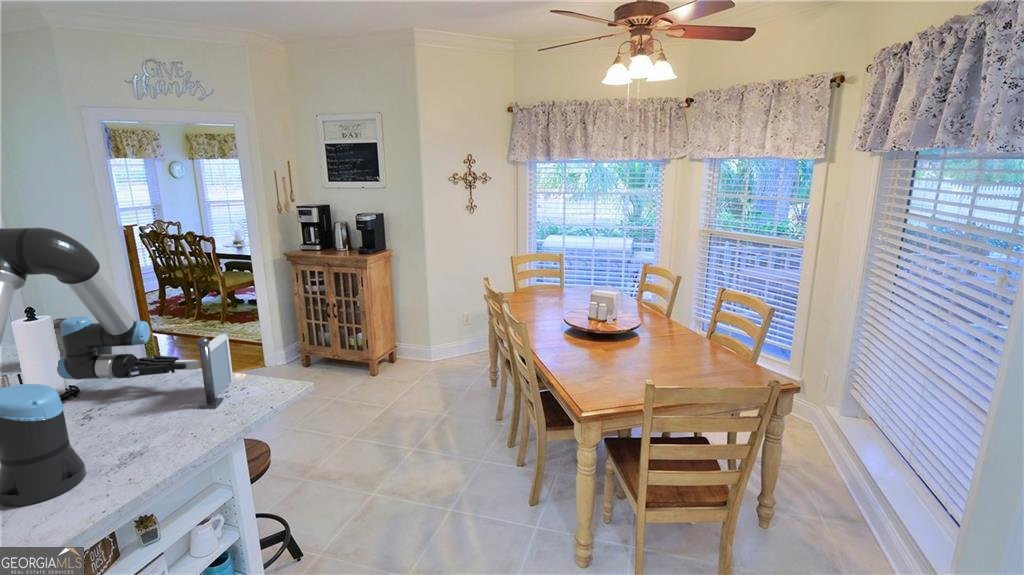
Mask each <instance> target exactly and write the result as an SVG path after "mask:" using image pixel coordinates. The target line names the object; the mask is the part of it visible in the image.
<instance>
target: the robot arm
mask: <svg viewBox="0 0 1024 575" xmlns="http://www.w3.org/2000/svg"><path fill="white" fill-rule="evenodd" d="M100 269H101V264H100V262H99V261H98V259H97V258H96V255H94V254H93V253H92V251H90V249H89V248H87V247H86V246H84V245H83V244H82V243H81V242H79V241H78V240H76V239H75V238H74V237H71V236H70V235H68V234H65V233H64V232H61V231H59V230H55V229H53V228H52V229H51V228H48V227H47V228H46V227H14V228H13V227H9V228H8V227H6V228H2V227H1V228H0V346H1V345H2V341H3V337H4V334H5V329H6V326H7V321H8V318H9V314H10V309H11V306H12V304H13V303H12V302H13V299H14V294H15V291H17V290H19V289H22V288H23V287H24V286H25V285H26V281H27V278H28V276H31V275H50V276H52V277H53V276H54V277H55V279H56V280H58V282H60V283H61V284H65V285H68V287H69V288H70V289H71V291H73V292H74V294H75V295H76V297H78V298H79V301H81V302H82V304H83V305H84V306H85V308H86V309H87V310H88V311H89V313H91V315H92V316H93V317H94V319H95V320H96V321H97V322H94V323H93V321H92V318H91V317H89V316H84V315H80V316H72V317H69V318H68V317H67V318H68V319H65V320H63V321H62V322H61V323H60V328H61V337H62V340H63V345H64V349H65V354H66V355H65V356H63V357H62V358H61V359H60V360H59V361H58V367H57V370H56V372H57V374H58V375H59V377H61V378H63V379H66V380H77V381H80V380H89V379H91V380H92V379H93V380H94V379H95V380H96V379H98V380H99V379H100V380H101V379H102V380H103V379H107V380H112V379H131V378H137V377H141V376H142V377H143V376H153V375H161V374H163V375H164V374H169V373H170V372H171V373H172V374H175V372H176V370H177V371H180V370H181V371H182V370H183V371H184V370H185V371H187V370H198V369H200V368H201V367H200V360H199V359H180V358H179V357H178V356H167V355H158V354H152V355H150V356H151V357H148V358H147V357H140V358H138V357H137V356H136V355H135V354H134V353H133V354H132V353H112V354H97V348H99V347H112V348H115V347H130V346H131V347H133V346H142V345H145V344H147V343H148V342H149V340H150V337H151V327H150V325H149V323H148V322H147V321H145V320H134V318H133V317H132V316H131V314H130V313H129V311H128V310H127V309H126V306H125V305H124V304H123V303H122V301H121V300H120V298H119V296H118V295H117V294H116V293H115V291H114V289H113V288H112V287H111V285H110V284H109V283H108V281H107V280H106V278H105V276H104V274H102V272H101V271H100ZM86 475H87V469H86V465H85V462H84V460H83V459H81V457H80V456H79V454H78V453H77V452H76V451H75V449H74V448H73V447H72V445H71V442H70V437H69V432H68V428H67V422H66V417H65V412H64V403H63V402H62V400H61V396H60V394H59V392H58V391H57V390H56V389H55V388H53V387H52V386H49V385H46V384H39V383H25V384H24V383H23V384H16V385H14V386H5V387H1V388H0V505H3V506H5V507H21V506H22V507H24V506H28V505H33V504H37V503H40V502H44V501H48V500H50V499H54V498H56V497H58V496H60V495H63V494H64V493H67V492H68V491H69V490H71V489H74V487H76V486H77V485H79V484H80V483H81V482H82V481H83V480H84V479H85V478H86Z"/></svg>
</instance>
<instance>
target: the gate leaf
mask: <svg viewBox="0 0 1024 575" xmlns="http://www.w3.org/2000/svg"><path fill="white" fill-rule="evenodd" d="M208 347H209V355H210V363H211V370H212V378H213V386H214V393H215V398H217V397H218V396H219V394H220V393H222V392H223V390H225V388H226V387H228V386H229V385H230V383H233V382H234V374H233V366H232V357H231V350H230V348H231V347H230V341H229V333H228V332H221V333H219V334H218V335H217V336H215V337H214V338H212V340H209V345H208Z"/></svg>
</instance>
